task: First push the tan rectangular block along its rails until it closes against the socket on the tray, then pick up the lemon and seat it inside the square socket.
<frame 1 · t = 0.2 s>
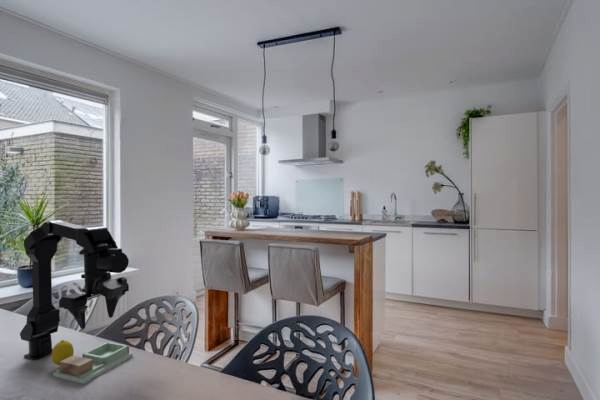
hand: (97, 322, 104), 14 cm above the table, tool pointing down, fingers open, 9 cm apart
lemon: (63, 367, 107), on the table
tray: (95, 365, 107), on the table
tan rectangular block: (76, 365, 102), point 3 cm above the table, slide at 0.0 cm
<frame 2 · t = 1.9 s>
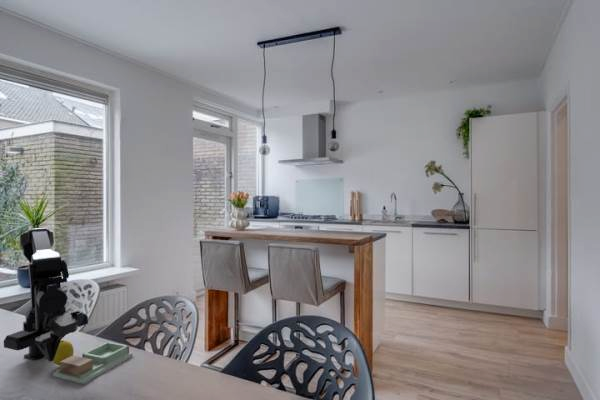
hand: (50, 360, 95), 7 cm above the table, tool pointing down, fingers closed
nothing on the table moved.
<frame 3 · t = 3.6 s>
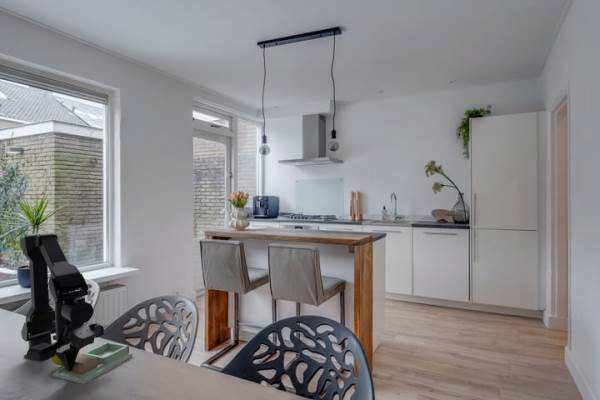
hand: (69, 370, 100), 2 cm above the table, tool pointing down, fingers closed
tan rectangular block: (80, 363, 103), point 3 cm above the table, slide at 1.4 cm, touching gripper
everything else where it was.
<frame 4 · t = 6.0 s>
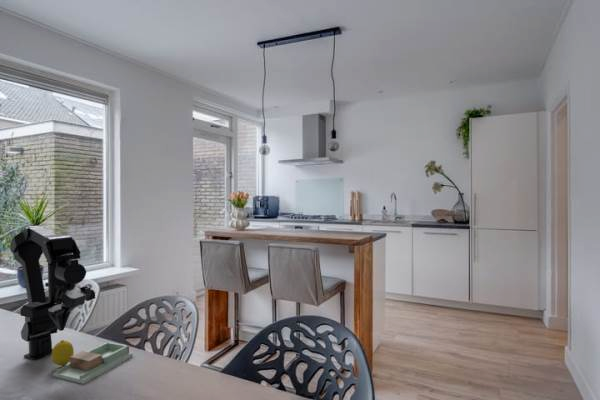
hand: (61, 330, 105), 12 cm above the table, tool pointing down, fingers closed
tan rectangular block: (86, 360, 104), point 3 cm above the table, slide at 3.0 cm
everything else where it was.
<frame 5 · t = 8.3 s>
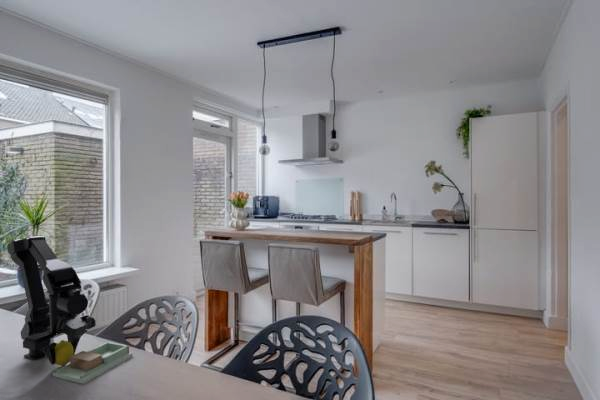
hand: (62, 359, 107), 2 cm above the table, tool pointing down, fingers closed on lemon, 5 cm apart
lemon: (63, 366, 107), on the table, touching gripper
everything else where it was.
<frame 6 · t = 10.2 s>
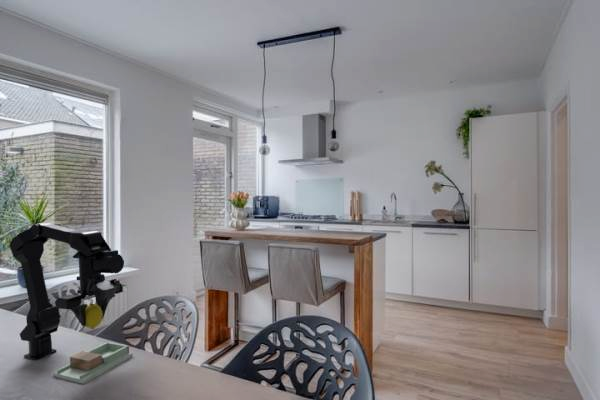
hand: (92, 322, 109), 12 cm above the table, tool pointing down, fingers closed on lemon, 5 cm apart
lemon: (93, 329, 109), point 10 cm above the table, touching gripper
everything else where it was.
when the fingers open (4 cm above the table, at t = 12.3 s): lemon drops 1 cm, resting on tray.
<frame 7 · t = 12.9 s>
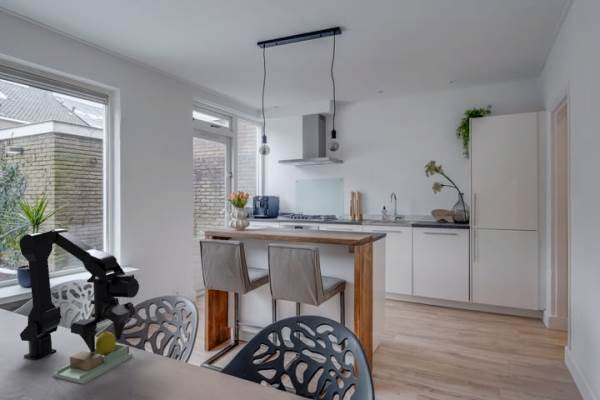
hand: (106, 345, 111), 4 cm above the table, tool pointing down, fingers open, 9 cm apart
lemon: (106, 357, 111), point 1 cm above the table, touching tray
everything else where it was.
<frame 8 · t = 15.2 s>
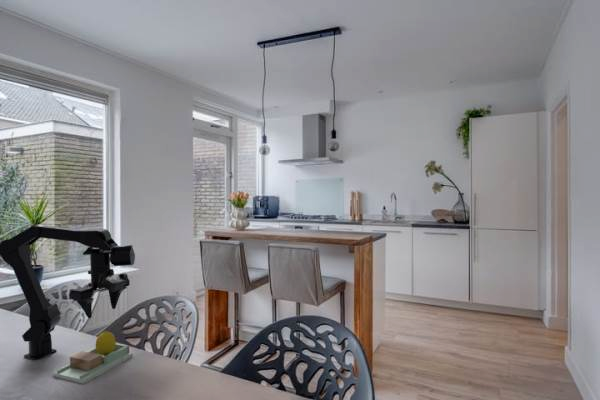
hand: (102, 313, 119), 12 cm above the table, tool pointing down, fingers open, 9 cm apart
nothing on the table moved.
at the end: tan rectangular block slide at 3.0 cm; lemon inside the target area (0.1 cm from its centre), point 0.8 cm above the table; the gripper is holding nothing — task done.
